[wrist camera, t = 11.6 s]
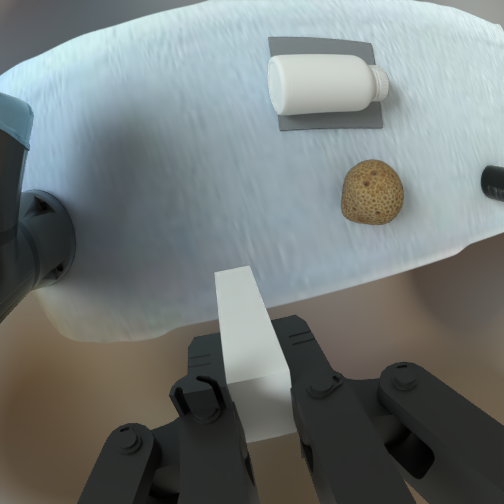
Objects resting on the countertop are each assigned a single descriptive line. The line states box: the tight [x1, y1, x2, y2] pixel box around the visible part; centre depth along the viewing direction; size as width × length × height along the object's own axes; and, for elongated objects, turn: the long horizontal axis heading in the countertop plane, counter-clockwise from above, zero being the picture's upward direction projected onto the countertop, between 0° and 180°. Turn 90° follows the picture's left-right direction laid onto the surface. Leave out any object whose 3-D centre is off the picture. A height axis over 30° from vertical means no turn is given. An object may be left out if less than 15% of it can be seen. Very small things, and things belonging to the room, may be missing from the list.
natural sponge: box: [341, 160, 404, 225], centre depth 38 cm, size 9×9×10 cm
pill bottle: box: [268, 54, 389, 115], centre depth 33 cm, size 8×8×15 cm
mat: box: [268, 37, 383, 130], centre depth 36 cm, size 16×14×1 cm
